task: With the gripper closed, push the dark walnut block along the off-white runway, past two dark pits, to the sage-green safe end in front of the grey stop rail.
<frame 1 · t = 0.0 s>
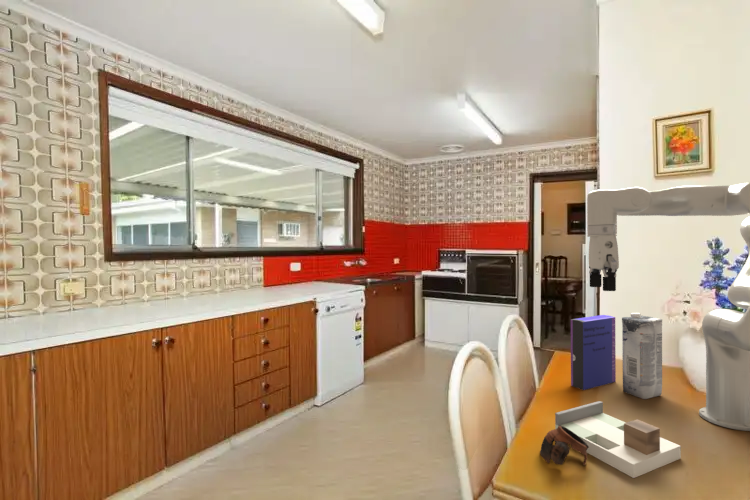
hand: (602, 288, 111), 37 cm above the table, tool pointing down, fingers open, 9 cm apart
juice carton: (642, 394, 125), on the table
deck: (614, 446, 93), on the table
block: (641, 447, 87), point 3 cm above the table, touching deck
brown curved piece: (562, 461, 87), on the table
blue rectangular box: (593, 384, 134), on the table
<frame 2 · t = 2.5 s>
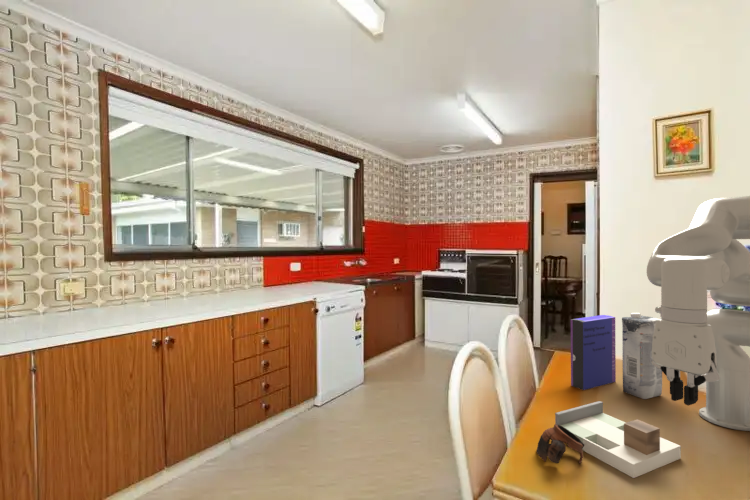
hand: (683, 401, 79), 17 cm above the table, tool pointing down, fingers closed
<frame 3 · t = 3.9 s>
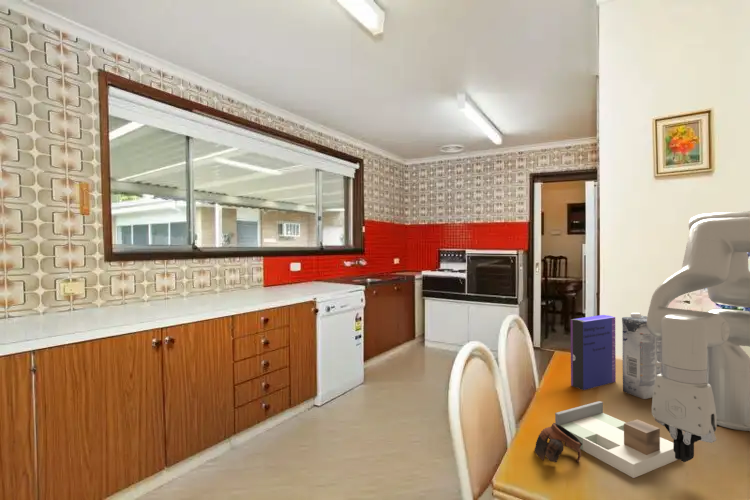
hand: (683, 458, 79), 5 cm above the table, tool pointing down, fingers closed
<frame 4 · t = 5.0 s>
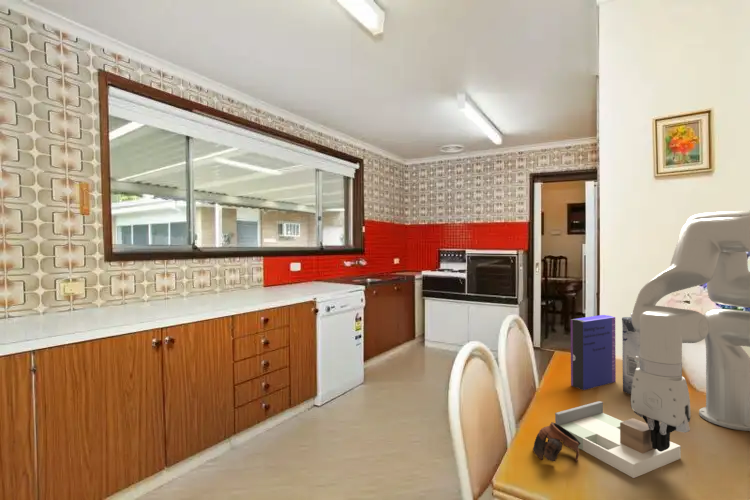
hand: (660, 448, 84), 5 cm above the table, tool pointing down, fingers closed
block: (637, 445, 88), point 3 cm above the table, touching gripper
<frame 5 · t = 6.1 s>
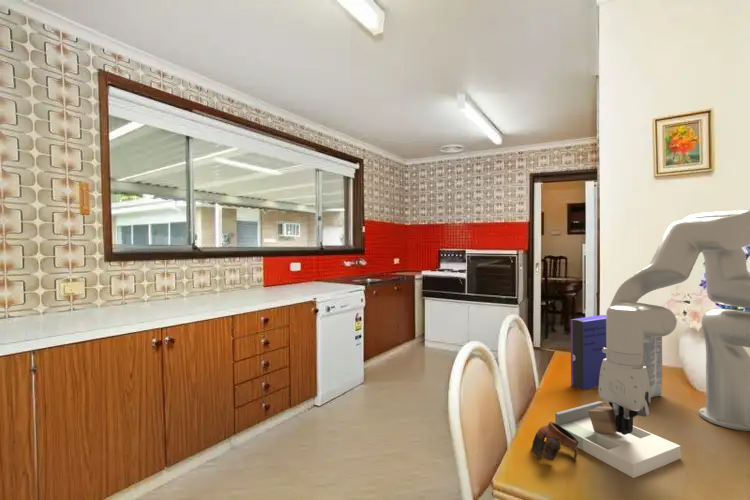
hand: (624, 432, 91), 5 cm above the table, tool pointing down, fingers closed
block: (609, 429, 94), point 4 cm above the table, tilted 19°, touching gripper
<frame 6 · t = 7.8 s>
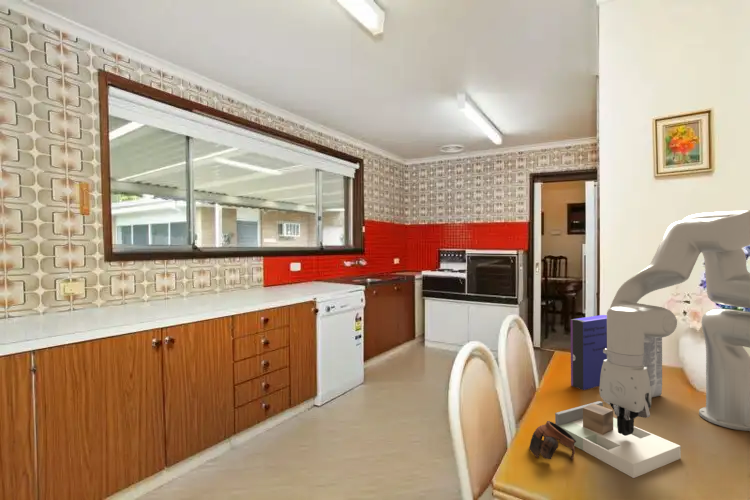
hand: (625, 433, 91), 5 cm above the table, tool pointing down, fingers closed
block: (598, 428, 96), point 3 cm above the table, touching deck
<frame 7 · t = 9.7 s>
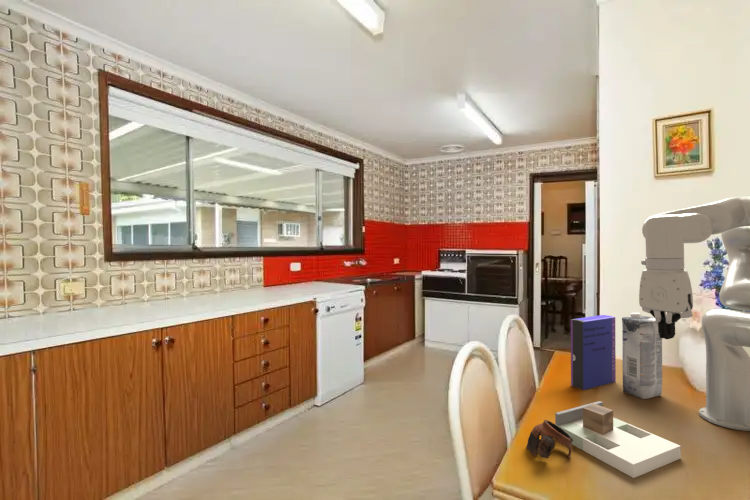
hand: (666, 337, 93), 27 cm above the table, tool pointing down, fingers closed
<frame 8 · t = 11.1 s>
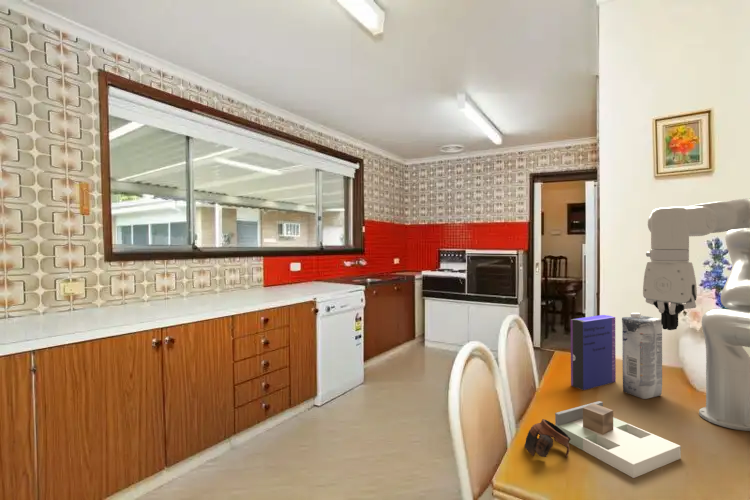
hand: (669, 328, 94), 29 cm above the table, tool pointing down, fingers closed
at the end: block 2.6 cm from the target spot on the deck, point 3.0 cm above the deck's base; block tilted 0°; the gripper is holding nothing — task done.
